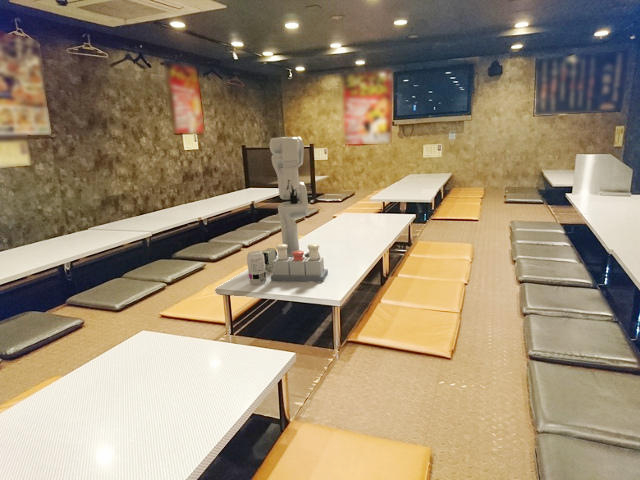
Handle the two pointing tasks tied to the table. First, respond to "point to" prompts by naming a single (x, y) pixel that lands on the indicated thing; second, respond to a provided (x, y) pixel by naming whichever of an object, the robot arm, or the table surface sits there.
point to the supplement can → (256, 268)
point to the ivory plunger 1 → (282, 252)
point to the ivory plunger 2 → (313, 252)
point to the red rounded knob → (298, 255)
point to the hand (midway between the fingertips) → (294, 203)
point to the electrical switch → (309, 255)
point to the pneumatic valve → (269, 258)
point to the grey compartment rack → (299, 270)
